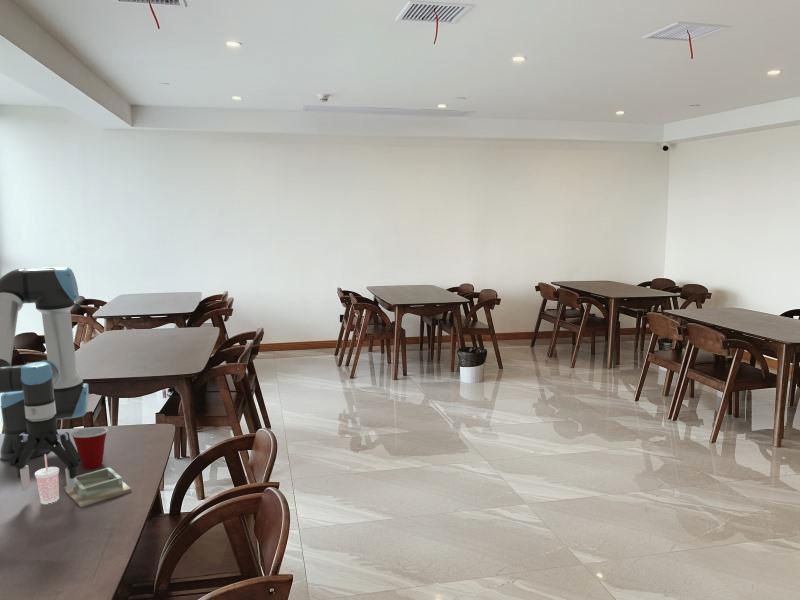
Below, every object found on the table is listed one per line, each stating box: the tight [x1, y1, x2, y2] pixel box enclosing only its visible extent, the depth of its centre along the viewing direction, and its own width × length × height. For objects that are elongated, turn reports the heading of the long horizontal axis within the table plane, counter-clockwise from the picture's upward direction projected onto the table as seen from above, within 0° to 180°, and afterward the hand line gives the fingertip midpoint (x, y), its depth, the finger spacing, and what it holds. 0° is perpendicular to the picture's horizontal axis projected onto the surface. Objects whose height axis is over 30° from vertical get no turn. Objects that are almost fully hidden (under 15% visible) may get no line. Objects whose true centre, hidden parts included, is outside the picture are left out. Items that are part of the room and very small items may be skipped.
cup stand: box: [63, 466, 132, 508], centre depth 183 cm, size 16×14×4 cm
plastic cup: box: [70, 426, 109, 470], centre depth 201 cm, size 11×11×12 cm
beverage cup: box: [34, 453, 60, 505], centre depth 177 cm, size 6×6×14 cm
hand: (48, 488), depth 177 cm, fingers open, 12 cm apart
